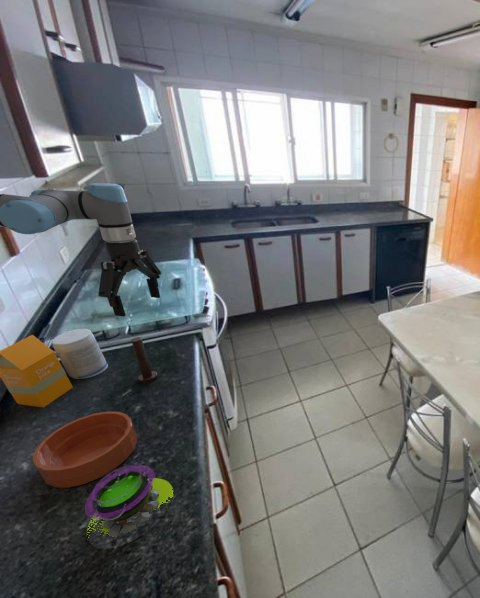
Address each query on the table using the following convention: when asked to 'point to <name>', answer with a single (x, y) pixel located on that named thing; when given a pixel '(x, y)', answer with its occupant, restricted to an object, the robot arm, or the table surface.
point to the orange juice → (33, 373)
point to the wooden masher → (143, 362)
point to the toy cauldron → (127, 499)
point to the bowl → (85, 449)
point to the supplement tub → (80, 353)
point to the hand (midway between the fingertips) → (139, 305)
